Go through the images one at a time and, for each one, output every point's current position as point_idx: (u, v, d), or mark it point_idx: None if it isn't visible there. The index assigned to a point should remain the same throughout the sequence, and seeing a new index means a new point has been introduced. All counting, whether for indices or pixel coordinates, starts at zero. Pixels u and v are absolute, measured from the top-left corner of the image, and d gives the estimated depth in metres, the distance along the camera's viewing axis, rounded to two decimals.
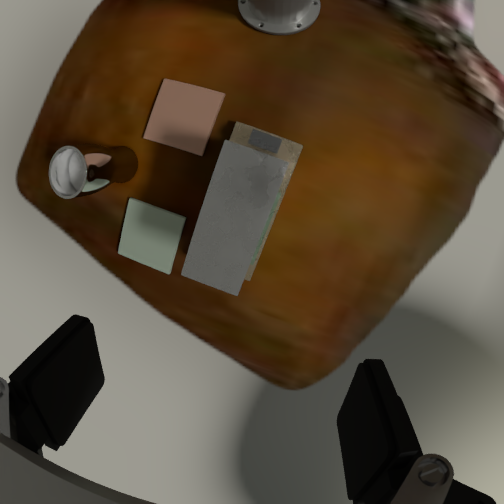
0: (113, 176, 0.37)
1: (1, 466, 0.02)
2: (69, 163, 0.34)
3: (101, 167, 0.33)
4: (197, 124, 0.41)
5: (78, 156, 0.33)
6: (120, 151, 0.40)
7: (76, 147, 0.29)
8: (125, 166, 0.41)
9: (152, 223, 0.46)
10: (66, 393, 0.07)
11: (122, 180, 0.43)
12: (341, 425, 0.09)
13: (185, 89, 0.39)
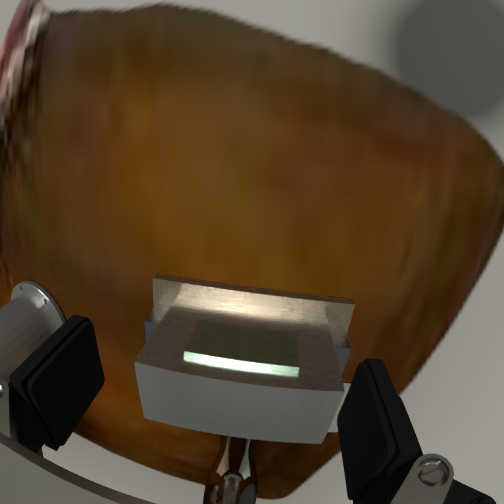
0: (238, 464, 0.32)
1: (2, 466, 0.02)
2: None
3: (222, 484, 0.29)
4: None
5: None
6: (220, 444, 0.37)
7: None
8: (234, 442, 0.36)
9: None
10: (66, 393, 0.07)
11: (252, 439, 0.38)
12: (341, 425, 0.09)
13: None
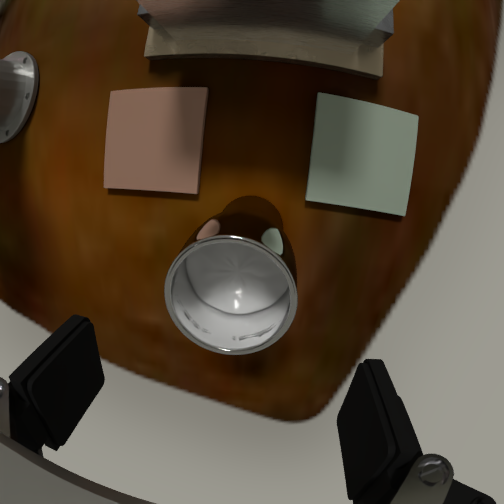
0: (252, 209, 0.20)
1: (1, 466, 0.02)
2: (232, 312, 0.19)
3: (221, 220, 0.16)
4: (159, 109, 0.25)
5: (212, 290, 0.19)
6: None
7: None
8: (243, 206, 0.24)
9: (342, 149, 0.25)
10: (66, 393, 0.07)
11: (273, 214, 0.26)
12: (341, 425, 0.09)
13: (113, 147, 0.26)
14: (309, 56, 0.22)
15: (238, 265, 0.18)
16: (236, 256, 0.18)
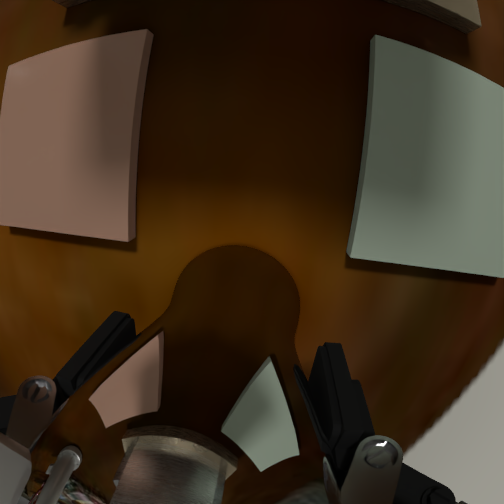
0: (218, 351, 0.06)
1: (2, 466, 0.02)
2: None
3: (66, 479, 0.02)
4: (66, 82, 0.11)
5: None
6: None
7: None
8: (210, 287, 0.10)
9: (425, 152, 0.11)
10: None
11: (283, 294, 0.12)
12: None
13: (6, 158, 0.12)
14: None
15: None
16: None
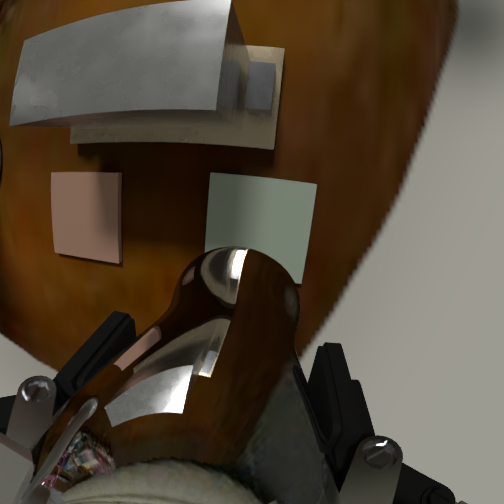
0: (218, 353, 0.06)
1: (1, 466, 0.02)
2: None
3: (67, 480, 0.02)
4: (86, 191, 0.29)
5: None
6: None
7: None
8: (210, 288, 0.10)
9: (233, 226, 0.29)
10: None
11: (283, 295, 0.12)
12: None
13: (57, 221, 0.30)
14: (199, 138, 0.26)
15: None
16: None
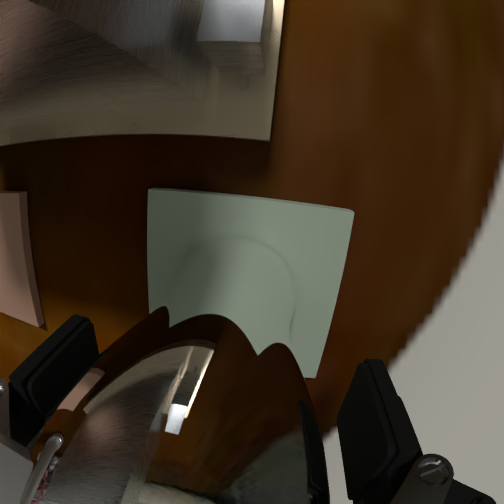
0: (219, 331, 0.07)
1: (1, 466, 0.02)
2: None
3: (82, 440, 0.03)
4: None
5: None
6: None
7: None
8: (212, 276, 0.11)
9: None
10: None
11: (279, 285, 0.12)
12: (341, 425, 0.09)
13: None
14: (125, 124, 0.12)
15: None
16: None
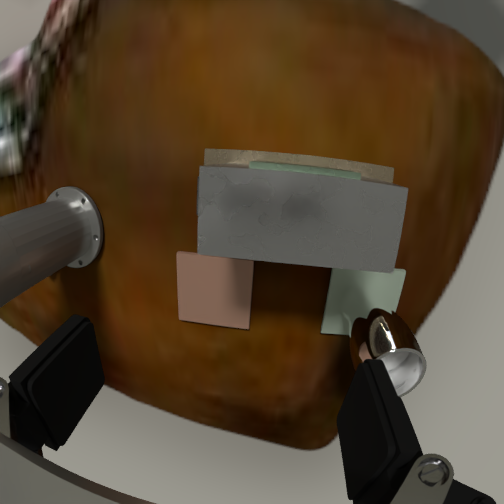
0: (389, 310, 0.29)
1: (1, 466, 0.02)
2: None
3: (385, 329, 0.25)
4: (219, 273, 0.38)
5: None
6: (350, 308, 0.34)
7: None
8: (369, 297, 0.33)
9: None
10: (66, 393, 0.07)
11: (384, 298, 0.34)
12: (341, 425, 0.09)
13: (184, 295, 0.40)
14: None
15: None
16: None
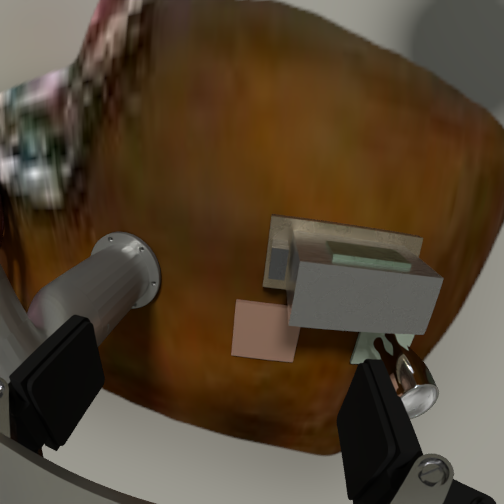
0: (411, 352, 0.35)
1: (1, 466, 0.02)
2: None
3: (411, 369, 0.32)
4: (273, 319, 0.44)
5: None
6: (379, 347, 0.41)
7: None
8: (395, 339, 0.40)
9: None
10: (66, 393, 0.07)
11: None
12: (341, 425, 0.09)
13: (239, 335, 0.45)
14: None
15: None
16: None
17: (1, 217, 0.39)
